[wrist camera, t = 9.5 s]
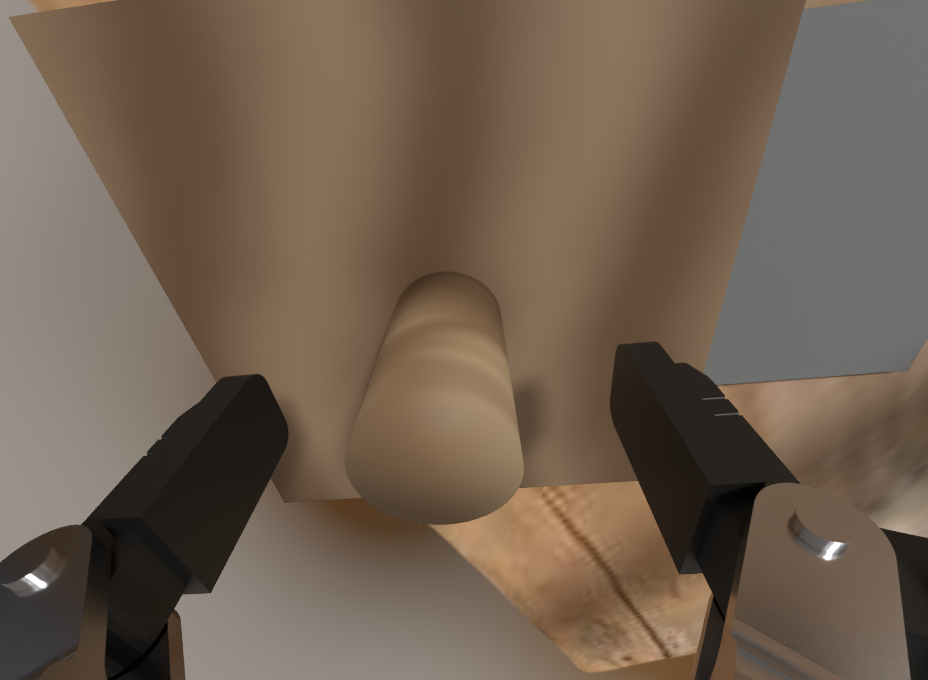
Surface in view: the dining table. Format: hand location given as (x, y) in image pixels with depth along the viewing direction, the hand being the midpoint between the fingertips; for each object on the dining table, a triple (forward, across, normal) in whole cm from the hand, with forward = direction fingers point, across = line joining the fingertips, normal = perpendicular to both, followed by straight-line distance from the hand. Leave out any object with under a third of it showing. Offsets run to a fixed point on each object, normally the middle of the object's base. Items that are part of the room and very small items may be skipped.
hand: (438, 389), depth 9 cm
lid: (+4, 0, 0) cm, 4 cm away
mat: (+12, -17, +2) cm, 21 cm away
